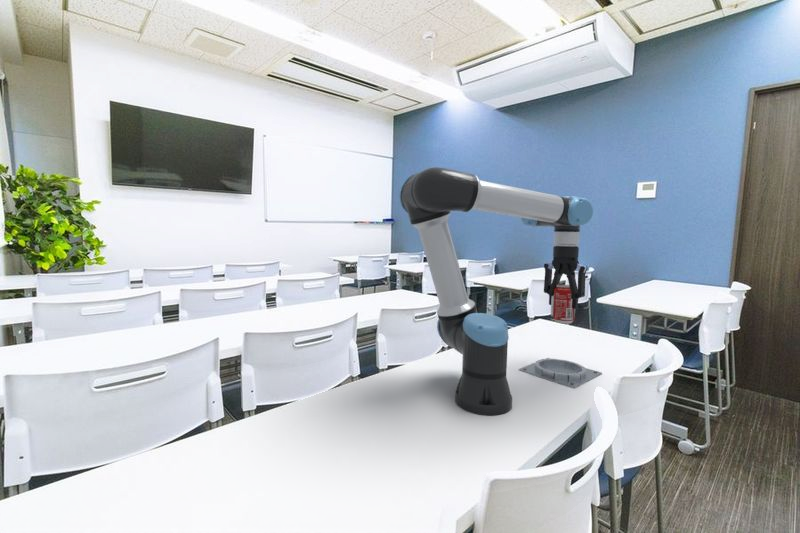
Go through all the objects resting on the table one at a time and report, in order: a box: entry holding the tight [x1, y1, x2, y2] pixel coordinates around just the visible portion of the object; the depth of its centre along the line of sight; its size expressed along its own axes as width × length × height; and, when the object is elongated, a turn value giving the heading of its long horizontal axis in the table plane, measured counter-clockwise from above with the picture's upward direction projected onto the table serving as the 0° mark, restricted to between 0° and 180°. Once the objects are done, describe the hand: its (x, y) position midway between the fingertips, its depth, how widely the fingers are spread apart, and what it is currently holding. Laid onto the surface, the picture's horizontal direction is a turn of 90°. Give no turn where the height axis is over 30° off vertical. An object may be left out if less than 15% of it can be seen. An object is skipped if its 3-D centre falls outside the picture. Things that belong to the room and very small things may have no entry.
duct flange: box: [517, 357, 603, 389], centre depth 128 cm, size 19×19×2 cm
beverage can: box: [552, 284, 576, 325], centre depth 126 cm, size 6×6×12 cm
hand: (562, 316), depth 126 cm, fingers closed on beverage can, 5 cm apart
